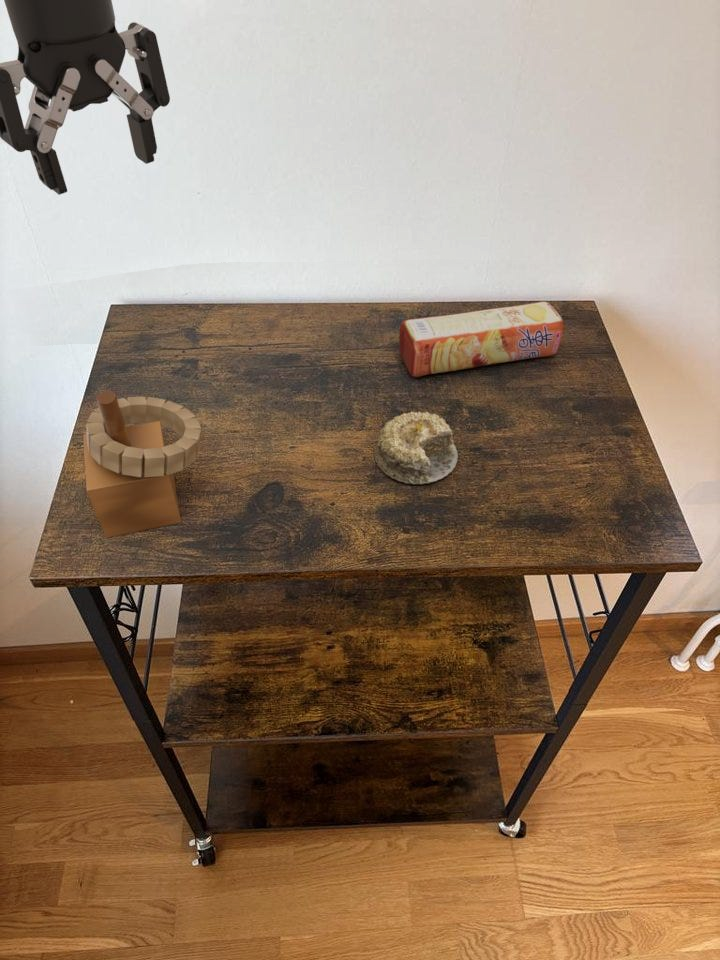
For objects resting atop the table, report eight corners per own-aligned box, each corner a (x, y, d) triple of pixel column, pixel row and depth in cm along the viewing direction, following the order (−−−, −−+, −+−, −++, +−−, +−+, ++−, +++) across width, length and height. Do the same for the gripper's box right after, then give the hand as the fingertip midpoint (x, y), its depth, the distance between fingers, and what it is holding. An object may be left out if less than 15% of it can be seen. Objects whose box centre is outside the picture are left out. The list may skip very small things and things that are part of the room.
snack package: (539, 331, 103) (550, 290, 98) (559, 361, 99) (572, 320, 94) (395, 353, 99) (398, 312, 94) (409, 385, 95) (414, 344, 90)
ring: (207, 424, 82) (208, 406, 80) (188, 485, 73) (190, 465, 71) (104, 407, 80) (104, 389, 79) (72, 467, 71) (72, 447, 70)
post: (106, 538, 78) (63, 434, 66) (101, 483, 83) (61, 376, 71) (181, 522, 80) (153, 418, 68) (172, 469, 85) (145, 363, 73)
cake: (360, 473, 86) (358, 440, 82) (393, 420, 92) (392, 387, 88) (440, 497, 83) (442, 464, 79) (469, 440, 89) (472, 406, 85)
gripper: (-28, -12, 47) (48, 219, 60) (161, -51, 54) (195, 165, 66) (-75, -39, 51) (7, 184, 63) (109, -74, 57) (150, 136, 69)
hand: (103, 174), depth 64 cm, fingers open, 8 cm apart
